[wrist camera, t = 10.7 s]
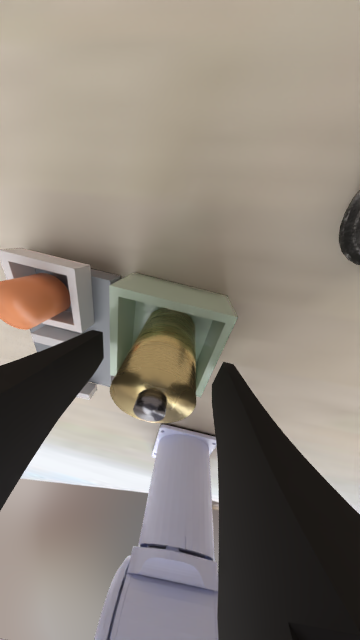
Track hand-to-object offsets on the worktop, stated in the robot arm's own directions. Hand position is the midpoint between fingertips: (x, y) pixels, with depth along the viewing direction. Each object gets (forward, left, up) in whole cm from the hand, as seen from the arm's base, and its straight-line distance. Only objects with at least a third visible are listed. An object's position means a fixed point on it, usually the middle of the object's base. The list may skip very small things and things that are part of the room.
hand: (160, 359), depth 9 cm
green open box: (0, 0, -4) cm, 4 cm away
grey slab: (-2, +8, -4) cm, 9 cm away
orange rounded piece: (+1, +8, -2) cm, 8 cm away
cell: (0, 0, -4) cm, 4 cm away
